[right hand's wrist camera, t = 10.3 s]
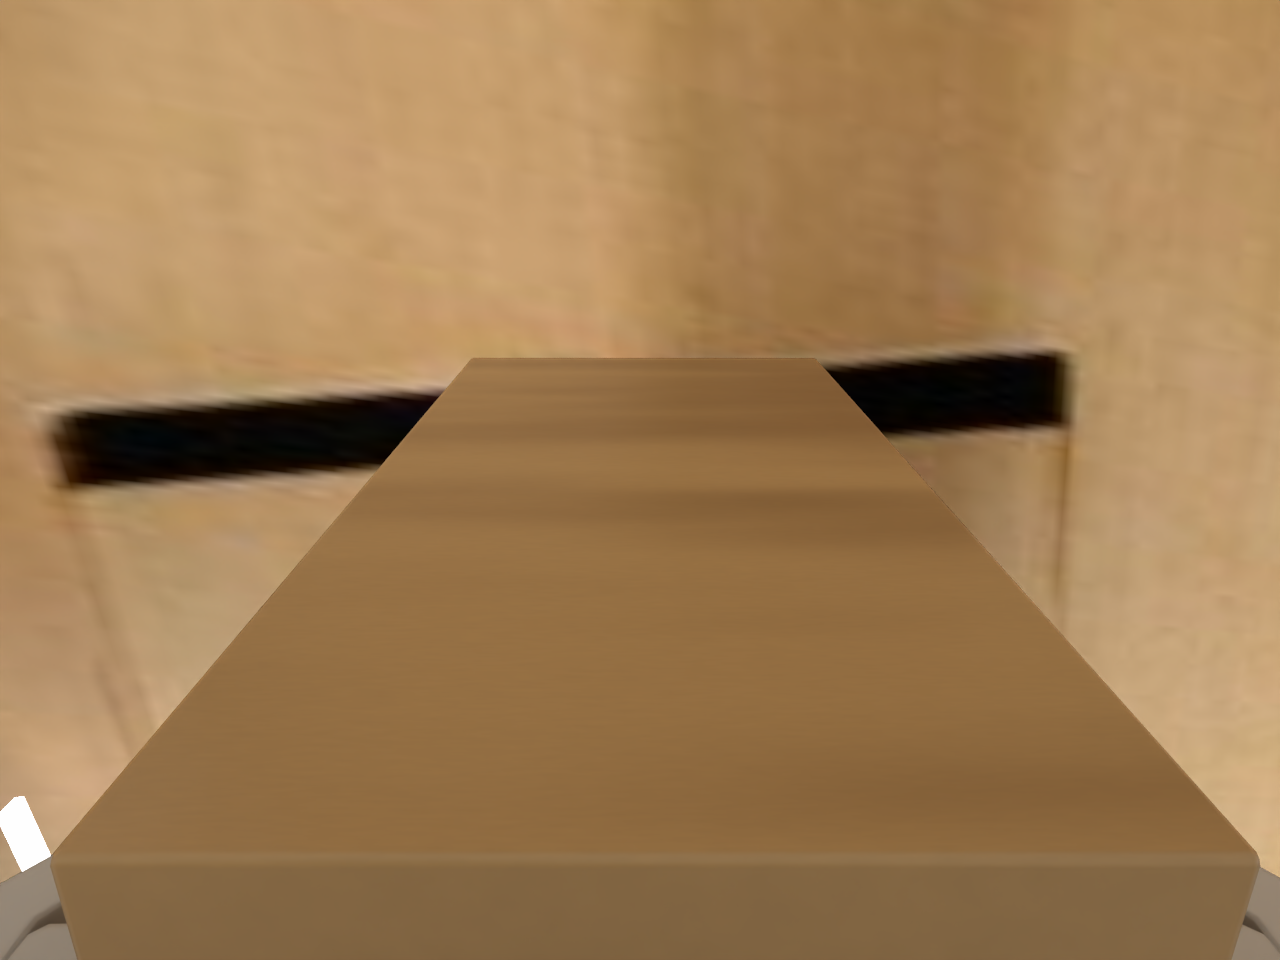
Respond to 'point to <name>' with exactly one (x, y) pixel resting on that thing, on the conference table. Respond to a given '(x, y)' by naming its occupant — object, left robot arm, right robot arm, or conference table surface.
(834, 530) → the box
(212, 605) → the conference table surface
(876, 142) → the conference table surface
